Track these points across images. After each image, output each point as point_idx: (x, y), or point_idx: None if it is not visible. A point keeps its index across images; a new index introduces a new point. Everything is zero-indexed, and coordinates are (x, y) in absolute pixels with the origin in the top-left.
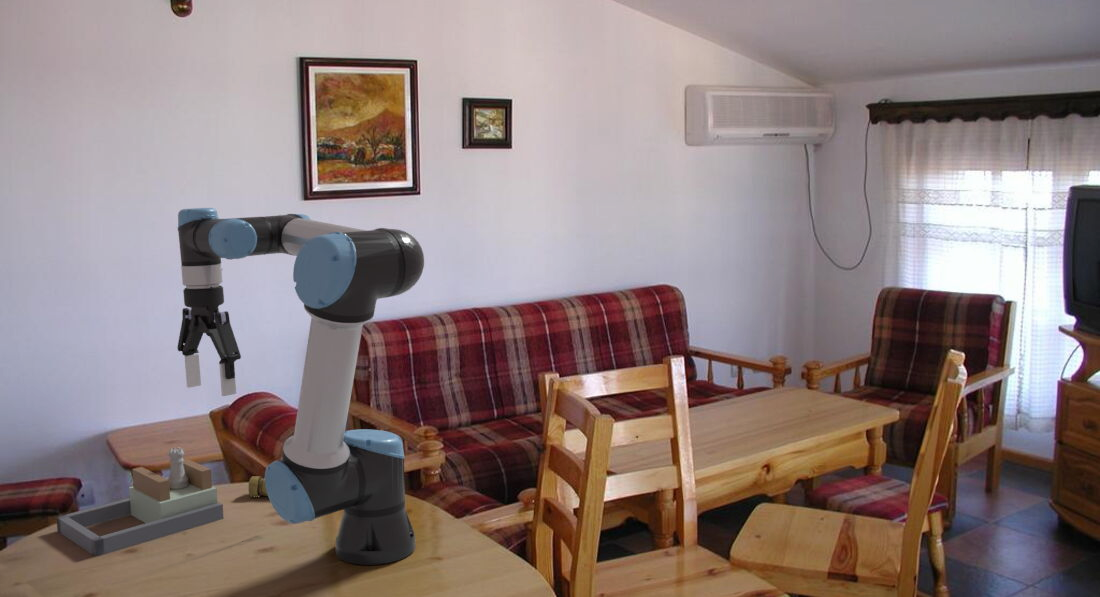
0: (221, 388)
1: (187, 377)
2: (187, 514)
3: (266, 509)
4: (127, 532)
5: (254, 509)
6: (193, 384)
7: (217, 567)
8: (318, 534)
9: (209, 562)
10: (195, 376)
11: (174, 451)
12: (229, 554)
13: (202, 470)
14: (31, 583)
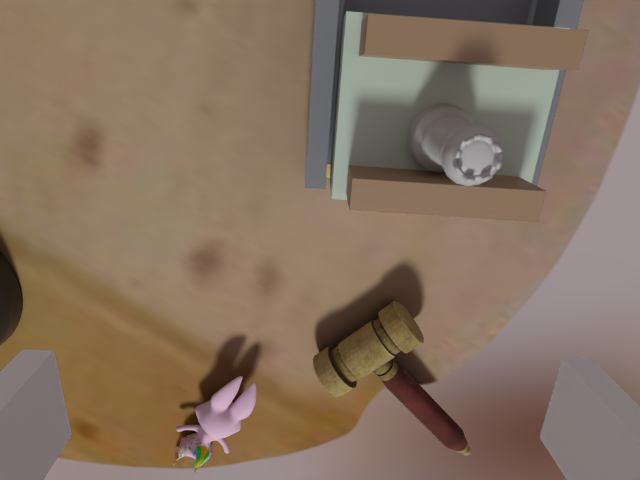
0: (14, 390)
1: (628, 417)
2: (311, 83)
3: (305, 281)
4: None
5: (326, 266)
6: (562, 402)
7: (62, 5)
8: (92, 265)
9: (105, 10)
10: (594, 470)
11: (472, 148)
12: (119, 72)
13: (359, 185)
14: None
